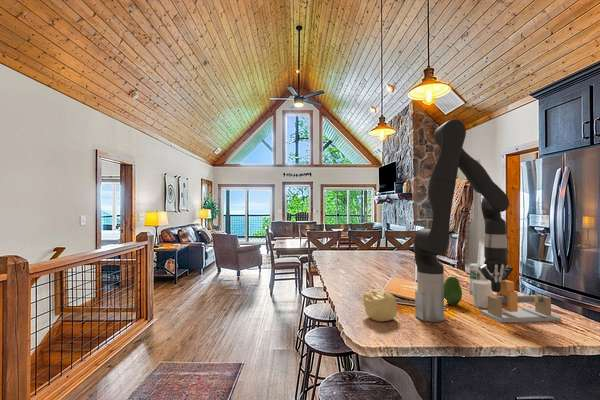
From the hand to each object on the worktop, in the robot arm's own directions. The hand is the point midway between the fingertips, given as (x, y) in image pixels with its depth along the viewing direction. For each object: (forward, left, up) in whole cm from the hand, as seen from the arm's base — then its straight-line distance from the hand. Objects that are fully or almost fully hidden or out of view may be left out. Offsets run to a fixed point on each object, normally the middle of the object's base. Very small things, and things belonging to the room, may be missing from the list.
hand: (496, 291), depth 124 cm
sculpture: (-45, +2, -10) cm, 46 cm away
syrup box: (+14, +31, -10) cm, 36 cm away
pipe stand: (+9, 0, -10) cm, 13 cm away
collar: (+4, 0, -7) cm, 8 cm away
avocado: (-8, +17, -10) cm, 21 cm away
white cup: (+4, +14, -10) cm, 18 cm away
